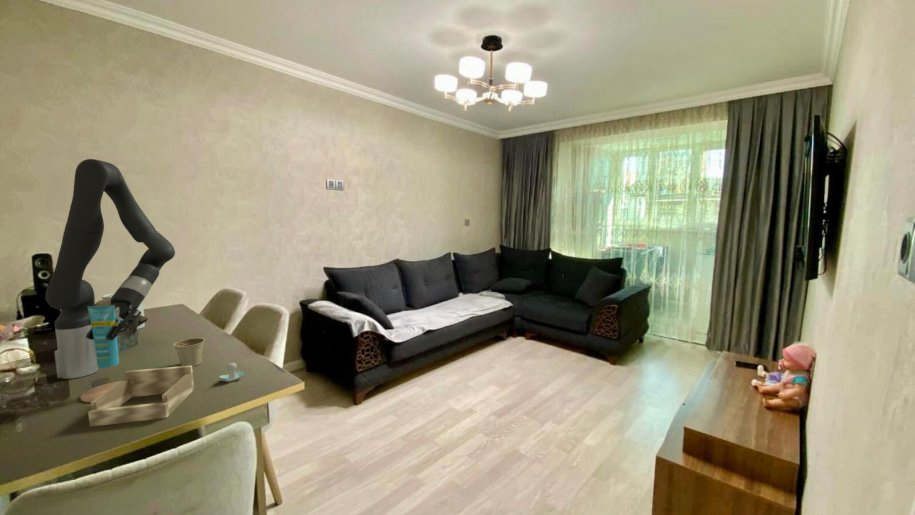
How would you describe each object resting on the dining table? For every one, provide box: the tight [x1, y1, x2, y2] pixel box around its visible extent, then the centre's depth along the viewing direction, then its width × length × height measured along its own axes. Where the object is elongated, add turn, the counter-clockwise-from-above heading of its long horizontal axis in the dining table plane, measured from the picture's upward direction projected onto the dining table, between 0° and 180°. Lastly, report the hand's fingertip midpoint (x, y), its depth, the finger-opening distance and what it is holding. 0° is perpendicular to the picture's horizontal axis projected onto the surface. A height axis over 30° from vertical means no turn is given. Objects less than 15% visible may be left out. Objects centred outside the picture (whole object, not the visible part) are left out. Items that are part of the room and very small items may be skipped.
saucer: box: [80, 380, 122, 403], centre depth 117 cm, size 13×13×1 cm
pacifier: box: [219, 362, 246, 383], centre depth 126 cm, size 7×6×6 cm
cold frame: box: [88, 365, 195, 427], centre depth 108 cm, size 17×17×8 cm
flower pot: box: [173, 337, 206, 367], centre depth 138 cm, size 9×9×9 cm
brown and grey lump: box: [95, 299, 148, 353], centre depth 154 cm, size 23×25×22 cm
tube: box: [88, 305, 120, 369], centre depth 115 cm, size 7×5×19 cm, turn 103°
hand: (99, 338), depth 113 cm, fingers closed on tube, 6 cm apart
